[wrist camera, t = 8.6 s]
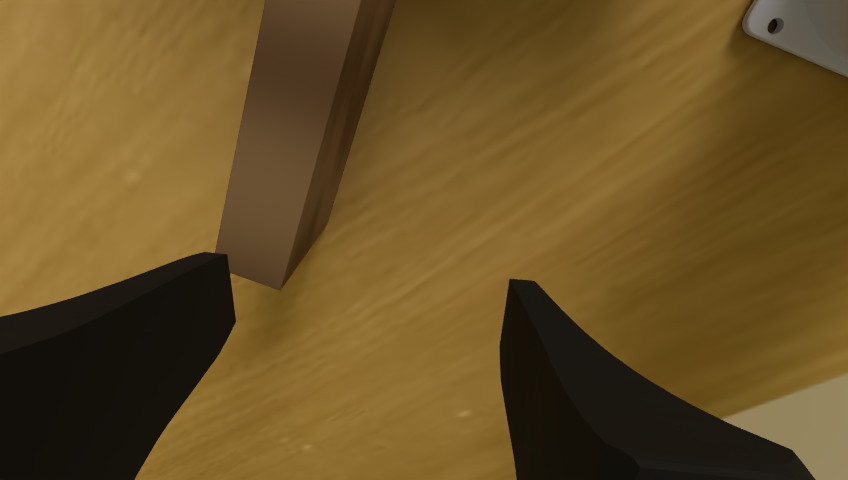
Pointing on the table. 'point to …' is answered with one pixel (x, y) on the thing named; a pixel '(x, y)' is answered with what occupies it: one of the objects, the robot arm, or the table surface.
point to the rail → (297, 130)
